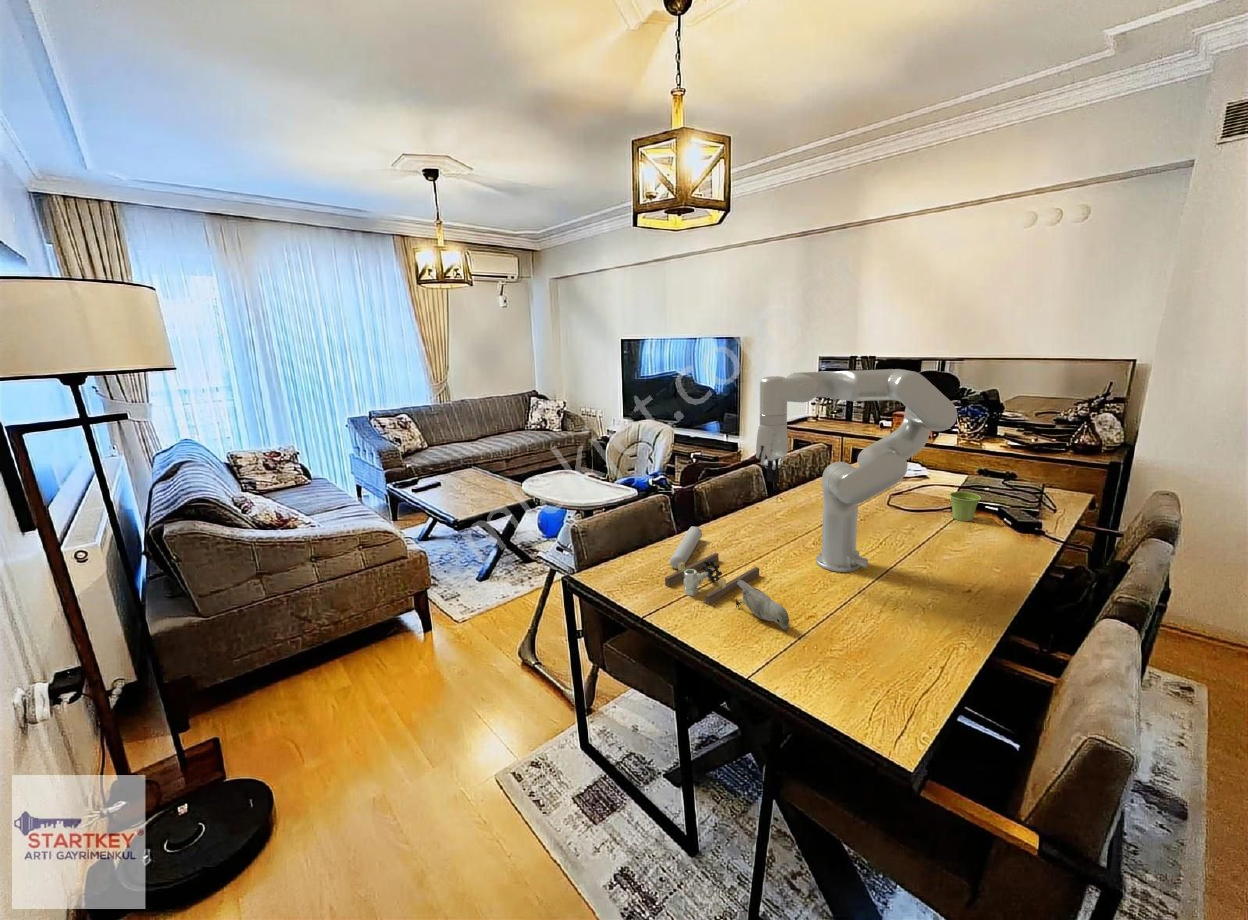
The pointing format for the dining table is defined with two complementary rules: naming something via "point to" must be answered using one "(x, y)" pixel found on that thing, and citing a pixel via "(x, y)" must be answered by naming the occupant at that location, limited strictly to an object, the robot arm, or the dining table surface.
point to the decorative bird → (763, 605)
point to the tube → (686, 547)
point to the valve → (699, 577)
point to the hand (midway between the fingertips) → (772, 481)
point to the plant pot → (964, 505)
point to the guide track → (723, 586)
